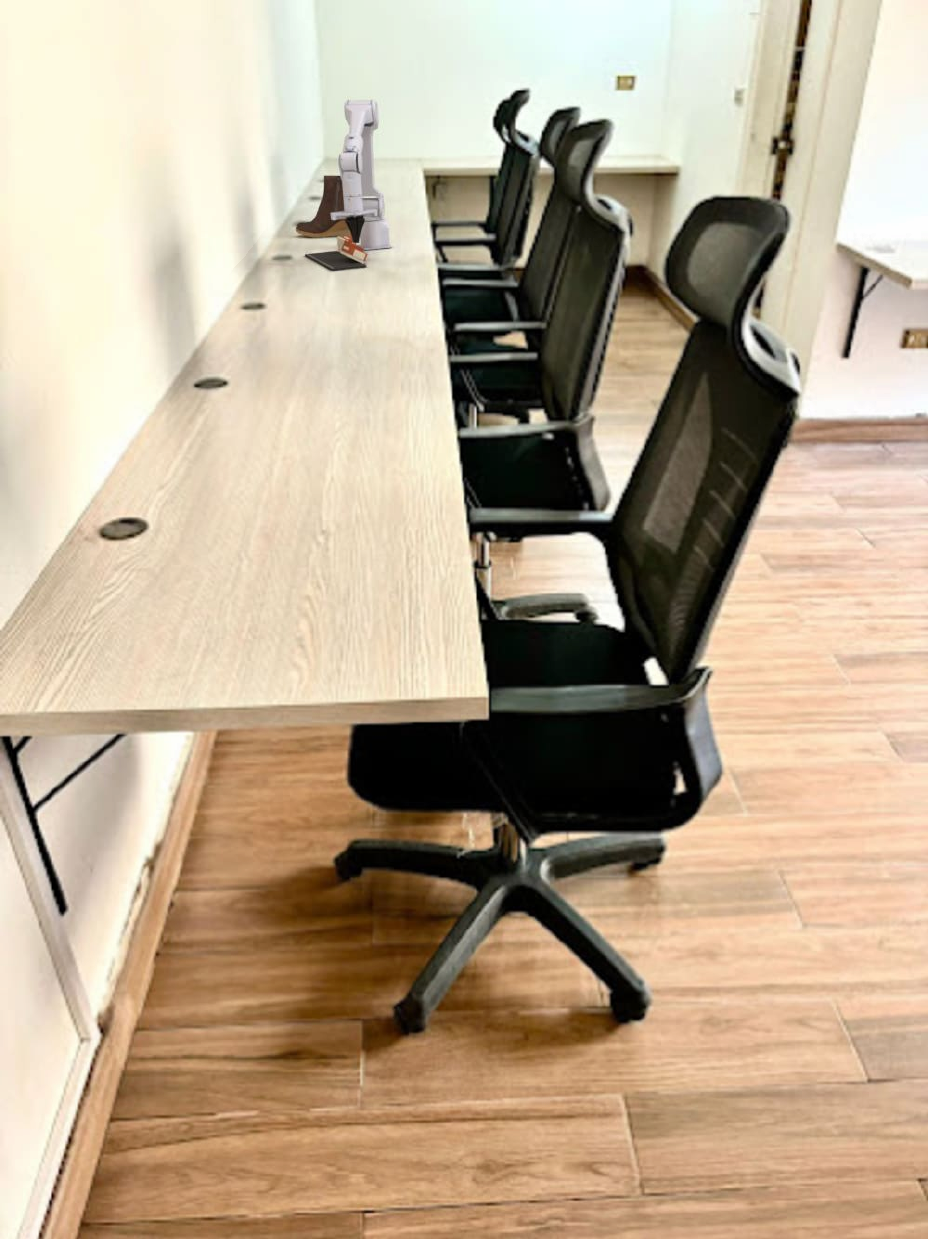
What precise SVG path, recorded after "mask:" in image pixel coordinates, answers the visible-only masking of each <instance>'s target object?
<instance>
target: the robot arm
mask: <svg viewBox="0 0 928 1239" xmlns="http://www.w3.org/2000/svg"><path fill="white" fill-rule="evenodd" d="M343 110H344V118H345V120H346V122H347V124H348V126H349V127H348V128H349V130H348V133H347V134H346V135H345V136H344V140H343V147H342V152H341V154H338V158H337V159H338V160H337V161H338V162H337V163H338V171H339V174H340V175H339V176H341V180H342V184H343V197H344V209H345V211H340V212H333V213H331V219H332V220H337V219H344V220H345V222H346V224H347V226H348V228H349V230H350V233H351V236H352V239H353V243H356V245H357V246H359V247H361V248H364V251H371V250H380V249H390V248H392V246H391V242H390V241H391V240H390V227H389V222H388V220H387V219H386V218H384V217H385V214H386V212H385V211H386V205H385V197H384V194H383V192H382V191H381V190H380V189H379V188H377V187H376V185H375V184H376V183H375V164H374V162H375V161H374V159H375V158H374V131H375V130H378V129H379V124H380V123H379V107H378V102H377V100H376V99H374V98H373V99H352V100H349V99H346V100H345V102H344V107H343ZM350 215H354V216H350ZM345 216H346V217H345Z"/></svg>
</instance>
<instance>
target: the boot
mask: <svg viewBox="0 0 928 1239" xmlns="http://www.w3.org/2000/svg"><path fill="white" fill-rule="evenodd" d="M340 211H345V209H344V197H343V184H342V180H341V176H340V175H326V174H325V175H323V191H322V197H321V200H320V203H319V206H318V208H317V210H316V214H315V216H314V217H313V219H311V220H310V221H302V222H301V221H300V222H298V223H297V224H296V226H295V232H296V233H297V234H298V235H301V236H305V237H309V238H317V239H321V238H328V237H340V236H351V233H350V230H349V228H348V226H347V224H346V222H345V220H344V219H337V220H332V219H331V213H333V212H340ZM350 216H354V215H350ZM345 217H346V216H345ZM351 237H352V236H351Z"/></svg>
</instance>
